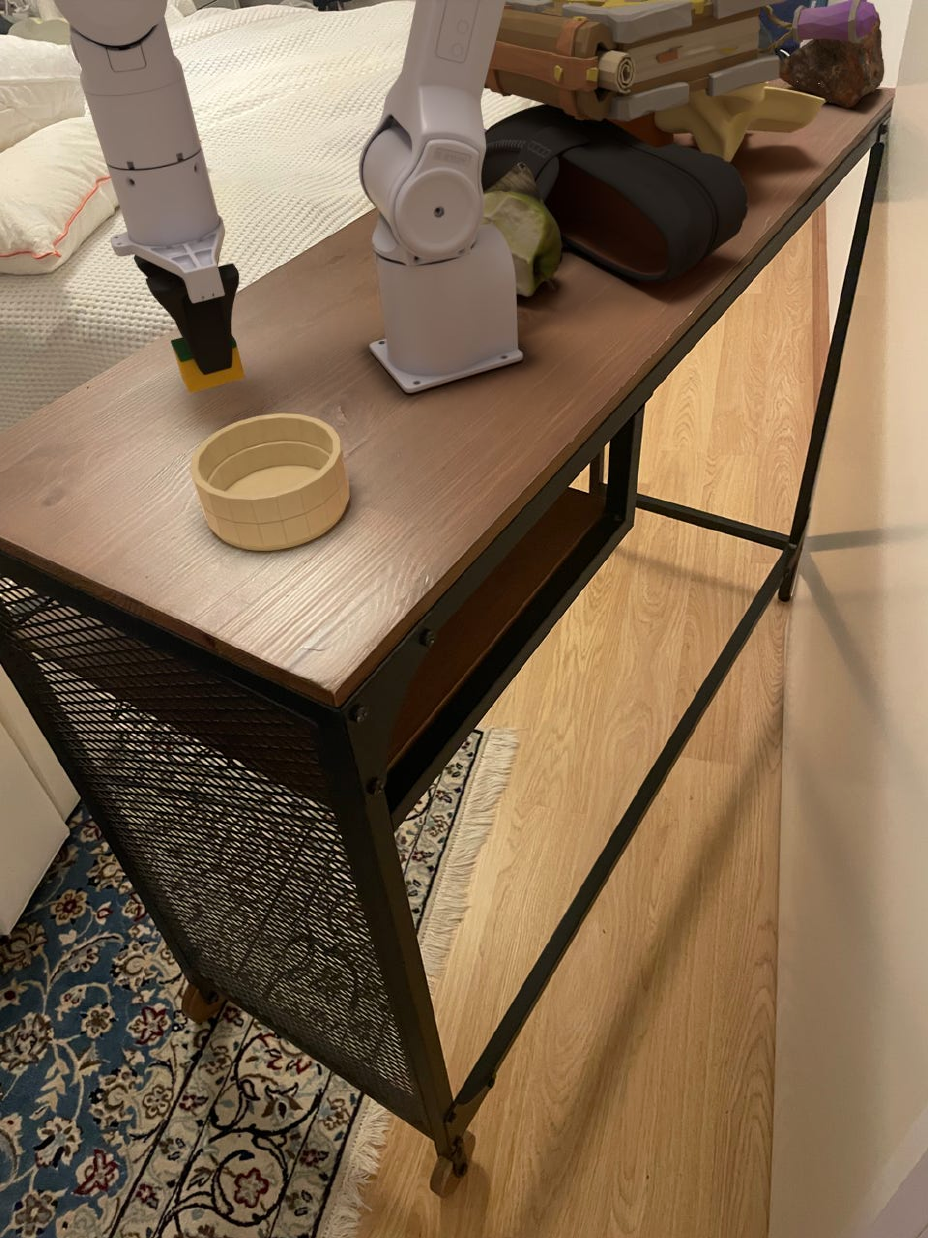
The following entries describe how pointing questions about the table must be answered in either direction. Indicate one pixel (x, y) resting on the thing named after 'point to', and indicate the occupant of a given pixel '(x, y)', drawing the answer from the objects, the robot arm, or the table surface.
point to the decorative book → (648, 50)
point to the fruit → (524, 228)
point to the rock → (837, 67)
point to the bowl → (271, 481)
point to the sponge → (195, 376)
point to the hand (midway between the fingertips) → (211, 359)
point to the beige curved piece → (738, 116)
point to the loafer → (621, 191)
